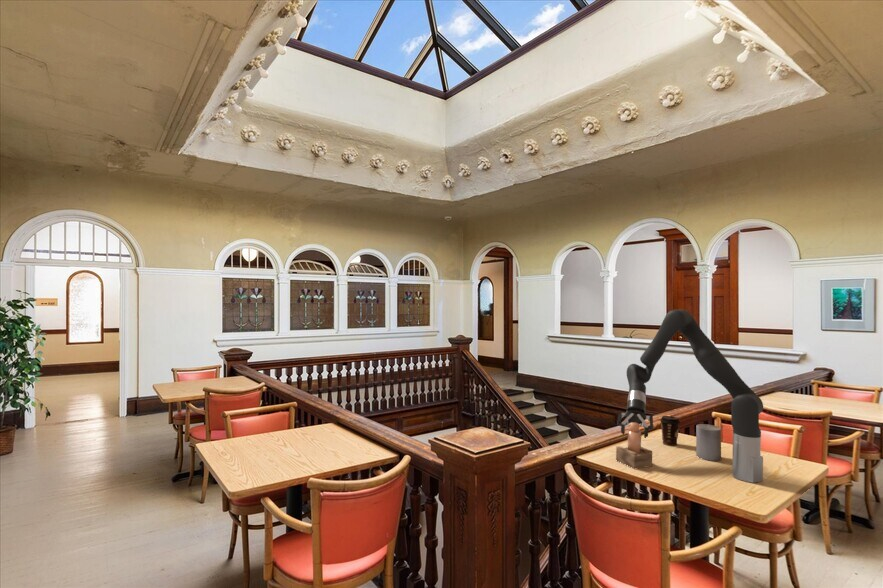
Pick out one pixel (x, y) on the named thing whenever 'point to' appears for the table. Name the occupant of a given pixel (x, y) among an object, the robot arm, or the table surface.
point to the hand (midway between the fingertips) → (634, 435)
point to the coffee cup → (670, 430)
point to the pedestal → (634, 457)
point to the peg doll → (634, 438)
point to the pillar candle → (708, 442)
